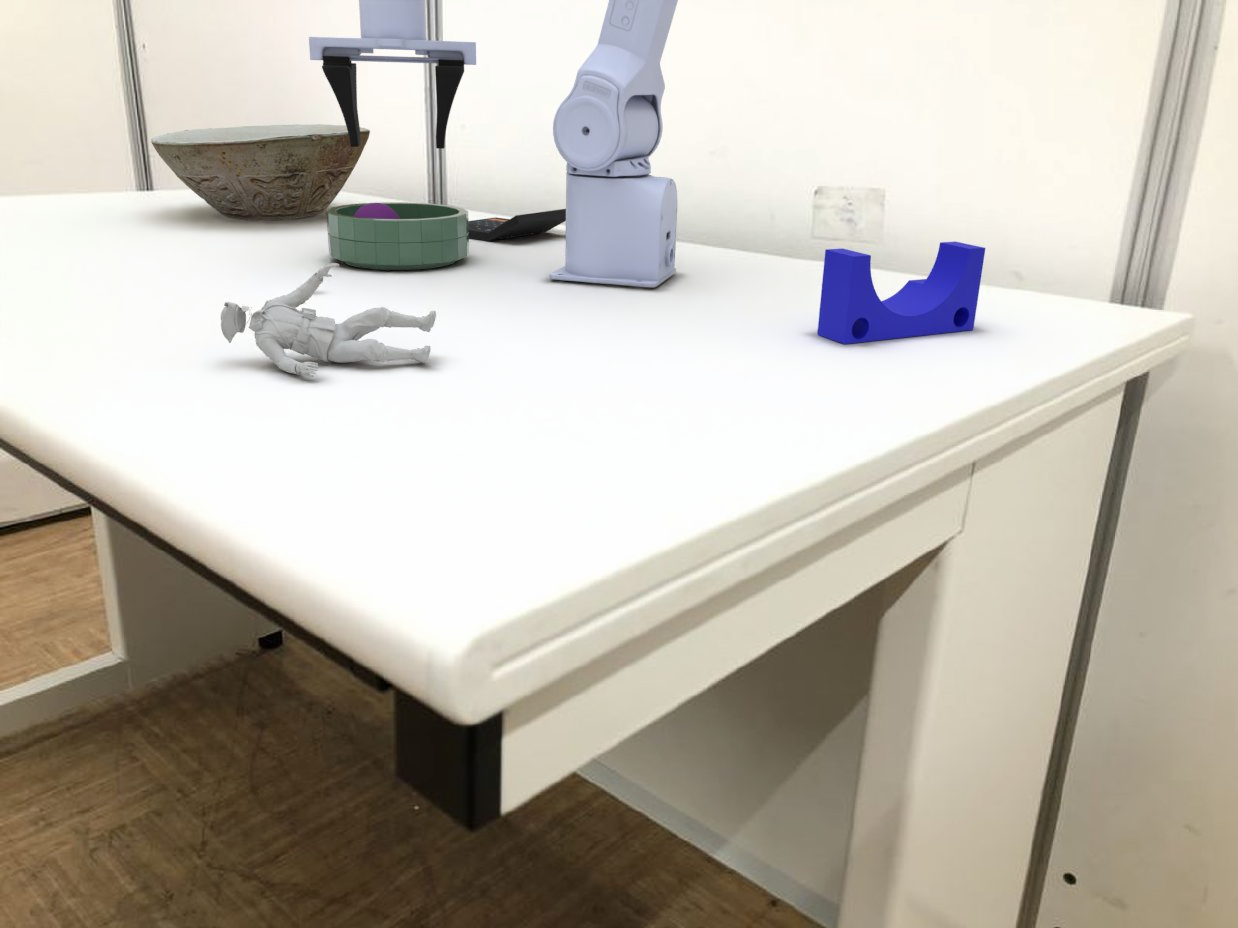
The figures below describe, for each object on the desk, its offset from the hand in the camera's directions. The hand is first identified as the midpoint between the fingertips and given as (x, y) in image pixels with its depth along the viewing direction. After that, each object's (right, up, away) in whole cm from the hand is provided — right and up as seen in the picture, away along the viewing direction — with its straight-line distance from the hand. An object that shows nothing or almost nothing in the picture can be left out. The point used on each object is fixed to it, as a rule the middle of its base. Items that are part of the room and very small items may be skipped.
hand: (398, 147), depth 98 cm
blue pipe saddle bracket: (+40, -20, -20) cm, 49 cm away
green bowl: (0, -10, +1) cm, 10 cm away
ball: (-2, -8, -1) cm, 8 cm away
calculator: (+8, -5, +17) cm, 20 cm away
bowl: (-20, -1, +26) cm, 33 cm away
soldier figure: (+3, -23, -33) cm, 41 cm away
